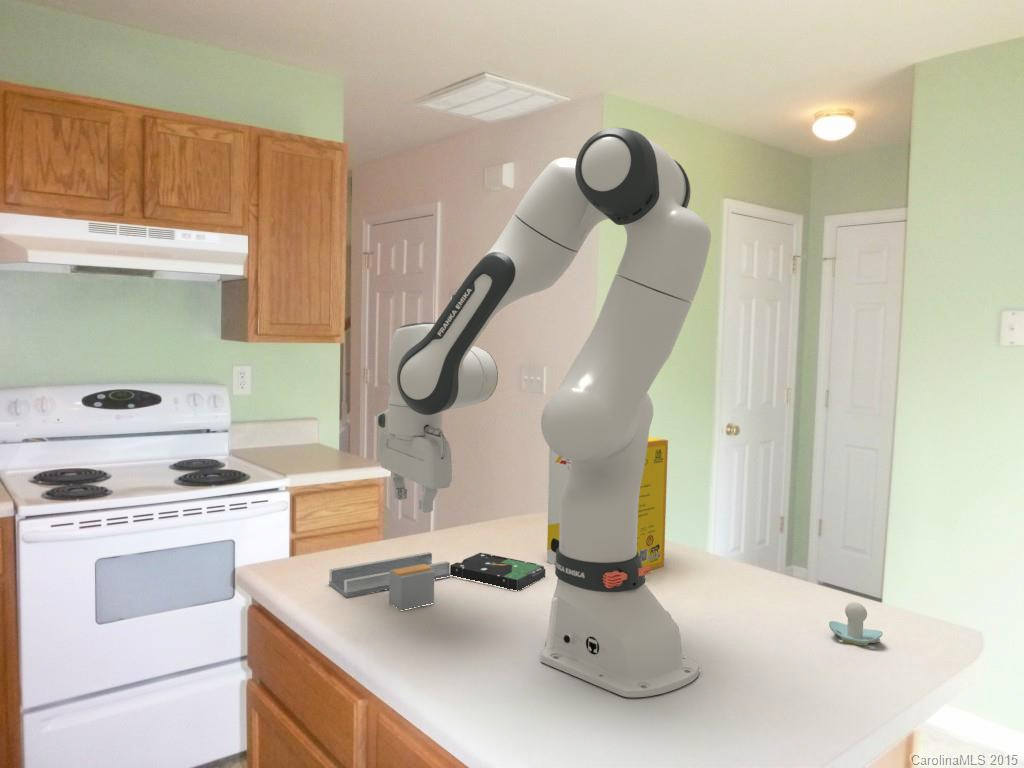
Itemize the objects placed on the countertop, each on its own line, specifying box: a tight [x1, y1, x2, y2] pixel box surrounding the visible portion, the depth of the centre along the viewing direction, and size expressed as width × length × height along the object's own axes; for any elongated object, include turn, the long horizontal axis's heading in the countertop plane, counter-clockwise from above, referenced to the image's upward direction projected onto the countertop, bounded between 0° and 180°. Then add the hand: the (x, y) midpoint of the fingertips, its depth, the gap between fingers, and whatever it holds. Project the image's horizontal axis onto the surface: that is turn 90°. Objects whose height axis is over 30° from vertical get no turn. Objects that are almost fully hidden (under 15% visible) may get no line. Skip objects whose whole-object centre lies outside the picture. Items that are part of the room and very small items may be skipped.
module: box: [388, 564, 435, 611], centre depth 125 cm, size 4×6×6 cm
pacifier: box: [828, 601, 884, 646], centre depth 114 cm, size 7×6×6 cm
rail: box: [328, 551, 451, 599], centre depth 136 cm, size 8×20×3 cm, turn 125°
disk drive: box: [449, 552, 546, 591], centre depth 140 cm, size 10×3×15 cm
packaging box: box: [546, 436, 669, 573], centre depth 148 cm, size 16×16×25 cm
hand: (412, 504), depth 125 cm, fingers open, 8 cm apart
